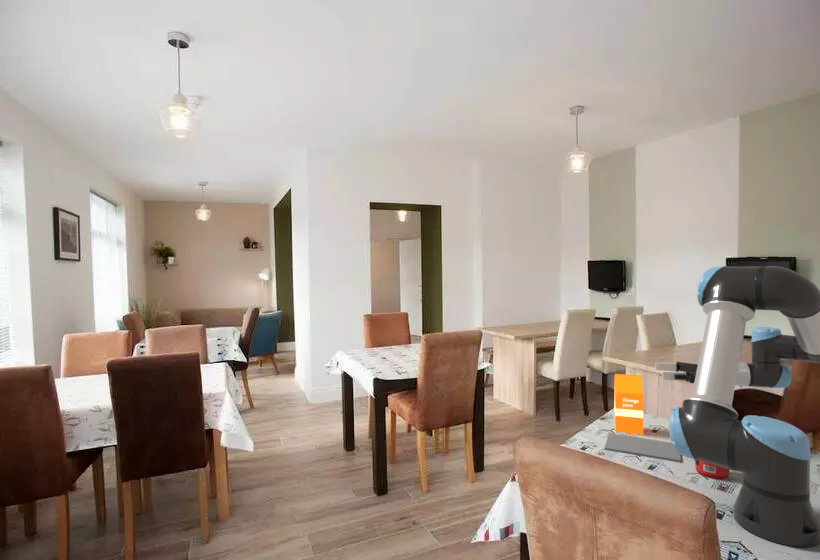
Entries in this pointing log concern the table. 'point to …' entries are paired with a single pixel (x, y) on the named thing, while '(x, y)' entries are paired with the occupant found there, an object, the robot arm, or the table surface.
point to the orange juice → (628, 403)
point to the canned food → (711, 470)
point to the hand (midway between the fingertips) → (658, 370)
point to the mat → (642, 447)
